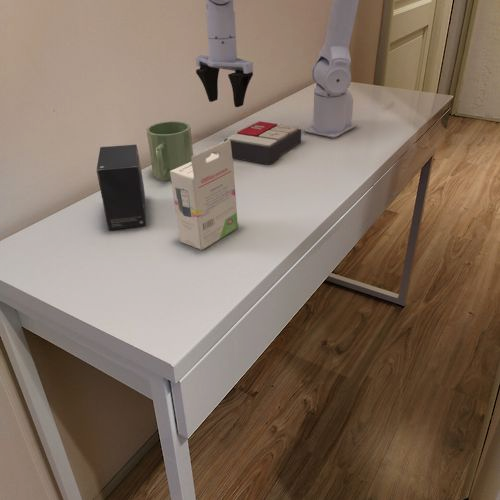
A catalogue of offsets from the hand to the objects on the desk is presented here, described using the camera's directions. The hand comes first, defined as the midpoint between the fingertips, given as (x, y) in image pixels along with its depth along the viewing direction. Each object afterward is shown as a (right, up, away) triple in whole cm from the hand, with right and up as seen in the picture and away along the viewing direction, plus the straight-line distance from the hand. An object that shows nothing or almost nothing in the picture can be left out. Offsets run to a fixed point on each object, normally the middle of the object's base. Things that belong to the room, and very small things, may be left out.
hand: (225, 103), depth 110 cm
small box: (-15, -26, -25) cm, 39 cm away
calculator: (+8, -10, -1) cm, 13 cm away
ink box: (-1, -30, -32) cm, 44 cm away
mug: (-10, -17, -11) cm, 23 cm away
